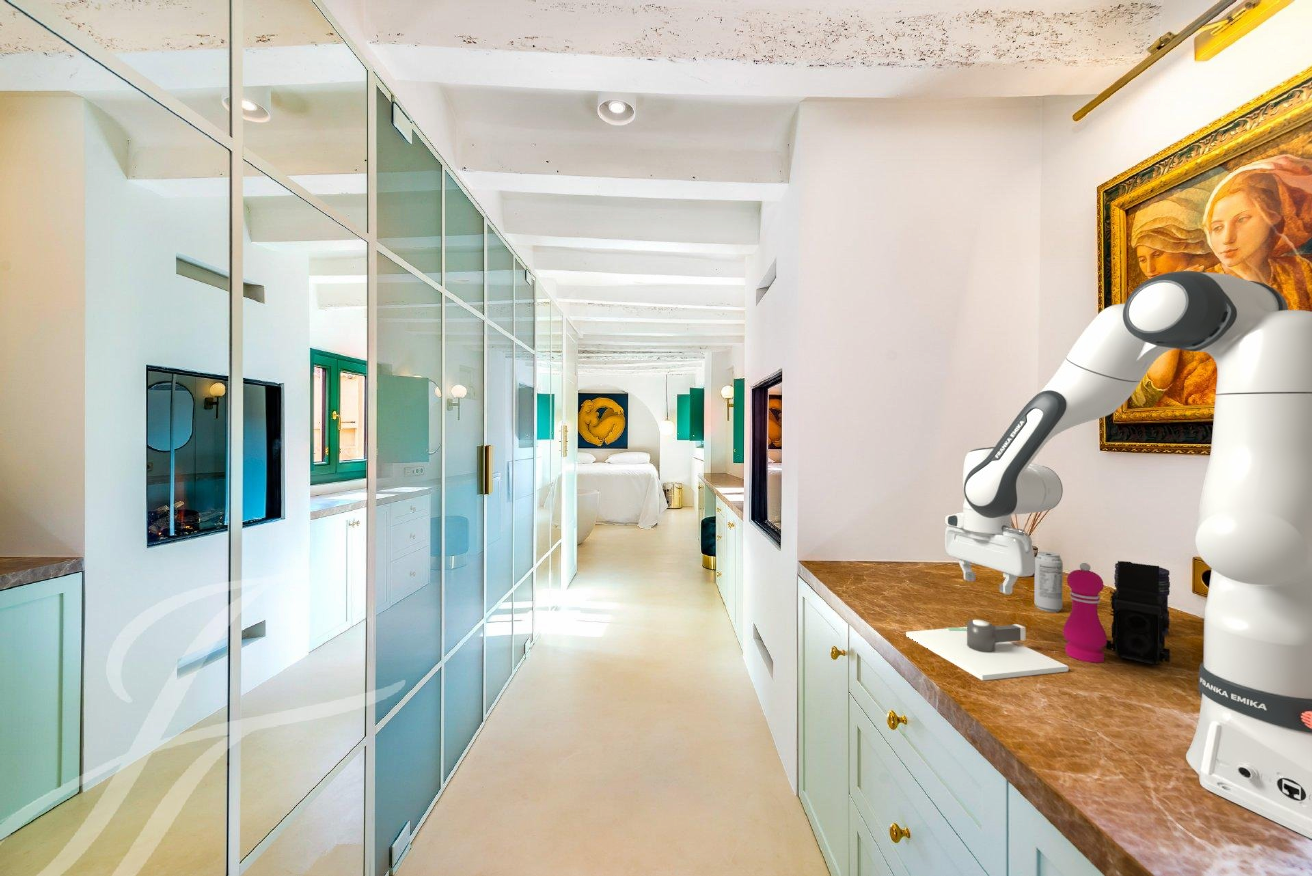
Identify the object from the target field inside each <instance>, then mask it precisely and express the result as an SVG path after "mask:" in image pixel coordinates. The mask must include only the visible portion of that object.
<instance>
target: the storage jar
mask: <svg viewBox="0 0 1312 876" xmlns="http://www.w3.org/2000/svg"><path fill="white" fill-rule="evenodd" d="M1143 564H1144V563H1143ZM1144 565H1146V564H1144ZM1114 568H1115V569H1114V574H1113V575H1114V582H1113V584H1114V587H1115V590H1116V591H1117V576H1118V562H1116V563H1115V564H1114ZM1170 588H1171V582H1170V570H1169V569H1167V568H1163V567H1161V566H1159V597H1162V600H1163V599H1164V600H1165V599H1166V600H1167V602H1165V605H1166V608H1165V607H1164V606H1165V605H1163V609H1167V614H1166V615H1165V614H1163V615H1164V616H1165V619H1168V620H1169V625H1170V620H1171V619H1170V611H1169V608H1168V607H1169V602H1168V600H1169V597H1168V596H1169V595H1170V592H1171V591H1170ZM1163 633H1164V636H1165V637H1168V636H1169V635H1170V633H1169V629H1168V628H1165V631H1163Z"/></svg>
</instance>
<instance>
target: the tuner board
mask: <svg viewBox="0 0 1312 876" xmlns="http://www.w3.org/2000/svg"><path fill="white" fill-rule="evenodd" d="M905 636H906V637H907V638H908V637H909V638H908V639H910V640H912V639H913V640H912V641H913V642H915V641H916V642H915V643H917V642H918V643H917V644H919V645H920V646H923V647H924V648H926V649H927V648H928V650H929V651H931V652H933V653H934V654H936V655H938V656H940V657H941V658H943V659H945V660H946V661H947V662H950V663H952V664H954V665H955V666H957V667H959V668H960V669H962V670H964V671H965V672H967V673H968V674H970V675H972V676H974V677H976V678H977V679H979V680H980V681H992V680H1001V679H1009V678H1010V679H1011V678H1017V677H1018V678H1020V677H1028V676H1029V677H1030V676H1037V675H1045V674H1047V675H1048V674H1056V673H1064V672H1066V673H1067V672H1069V666H1068V665H1067V664H1064V663H1062V662H1060V661H1058V660H1056V659H1053V658H1052V657H1049V656H1047V655H1045V654H1043V653H1041V652H1038V651H1036V650H1034V649H1031V648H1030V647H1027V646H1025V645H1024V643H1021V642H1020V641H1010V642H1000V643H995V651H993V652H983V651H978V650H975V649H972V648H970V647H968V646H967V626H961V627H946V628H935V629H925V630H924V629H923V630H914V631H912V630H911V631H906V632H905Z"/></svg>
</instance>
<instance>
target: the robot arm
mask: <svg viewBox="0 0 1312 876" xmlns="http://www.w3.org/2000/svg"><path fill="white" fill-rule="evenodd" d="M1176 349H1177V350H1182V351H1187V352H1199V353H1200V352H1202V353H1203V352H1205V353H1206V354H1208V355H1209V356H1211V358H1213V361H1214V362H1215V365H1216V369H1217V371H1216V372H1217V374H1216V375H1217V376H1216V377H1217V378H1216V387H1215V397H1214V399H1215V400H1214V410H1213V422H1212V423H1213V425H1212V434H1211V436H1212V437H1211V446H1210V455H1209V459H1208V463H1207V467H1206V471H1205V476H1204V481H1203V485H1202V490H1201V495H1200V500H1199V505H1198V506H1199V507H1198V513H1197V518H1196V524H1195V525H1196V527H1195V531H1194V544H1195V547H1196V550H1197V553H1198V555H1199V556H1200V558H1201V559H1202V561H1203V562H1204V563H1205V564H1206V565H1207V566H1209V568H1211V570H1210V571H1211V572H1210V578H1209V585H1208V592H1207V596H1206V597H1207V598H1206V600H1205V601H1206V602H1205V605H1204V610H1203V661H1202V662H1200V664H1199V666H1198V668H1199V669H1198V687H1197V688H1198V693H1199V697H1200V700H1201V701H1200V702H1201V703H1200V709H1199V716H1198V720H1197V726H1196V729H1195V733H1194V736H1193V739H1192V742H1191V744H1190V746H1189V748H1188V750H1187V752H1185V753H1186V754H1185V758H1186V761H1187V763H1188V765H1189V766H1190V767H1191V768H1192V769H1193V770H1194V771H1195V773H1197V775H1198V779H1199V784H1200V785H1201V787H1202V788H1204V789H1205V790H1207V791H1209V792H1211V793H1213V794H1215V795H1218V796H1219V797H1222V798H1224V799H1226V800H1228V801H1230V802H1232V803H1235V804H1236V805H1239V806H1240V807H1243V808H1245V809H1247V810H1249V811H1251V812H1254V813H1255V814H1258V815H1260V816H1262V817H1264V818H1267V819H1268V820H1270V821H1272V822H1275V823H1277V824H1279V825H1281V826H1284V827H1285V828H1287V829H1290V830H1291V831H1294V832H1297V833H1298V834H1300V835H1301V836H1305V837H1306V838H1309V839H1311V840H1312V311H1309V310H1304V309H1303V310H1301V309H1289V307H1288V303H1287V300H1286V298H1285V297H1284V296H1283V295H1282V294H1281V293H1280V292H1279V291H1278V290H1276V289H1275V288H1274V287H1272V286H1270V285H1268V284H1266V283H1263V282H1260V281H1256V280H1248V279H1244V278H1240V277H1237V276H1234V275H1232V274H1228V273H1227V274H1225V273H1219V272H1201V271H1195V270H1180V271H1178V270H1177V271H1172V272H1167V273H1162V274H1159V275H1156V276H1154V277H1151V278H1149V279H1147V280H1145V281H1144V282H1142V283H1141V284H1140V285H1138V286H1137V287H1136V288H1135V289H1133V291H1132V292H1131V293H1130V295H1128V297H1127V299H1126V301H1125V303H1118V304H1113V305H1110V306H1108V307H1106V308H1104V309H1102V310H1101V311H1100V312H1099V313H1098V314H1097V315H1096V316H1095V317H1094V319H1093V320H1092V321H1091V322H1090V323H1089V324H1088V325H1087V327H1086V328H1085V329H1084V330H1083V332H1082V333H1081V335H1079V337H1078V338H1077V340H1076V341H1075V342H1074V343H1073V345H1072V347H1071V348H1070V350H1069V352H1068V353H1067V355H1066V357H1065V358H1064V360H1063V362H1062V363H1061V365H1060V366H1059V368H1058V369H1057V370H1056V372H1055V373H1054V375H1053V376H1052V377H1051V379H1050V380H1049V381H1048V382H1047V384H1045V386H1044V387H1043V388H1042V389H1041V390H1040V391H1039V392H1038V393H1037V394H1035V395H1034V396H1033V398H1031V399H1030V401H1028V403H1026V404H1025V406H1024V407H1023V408H1022V410H1021V411H1020V412H1019V413H1018V414H1017V416H1016V417H1015V418H1014V420H1013V421H1012V423H1011V424H1010V425H1009V427H1008V428H1007V430H1006V431H1005V432H1004V434H1003V435H1002V436H1001V438H1000V439H999V440H998V442H997V443H996V445H995V446H990V447H981V448H980V447H979V448H974V449H972V450H970V451H968V452H967V453H966V455H965V458H964V461H963V467H962V491H963V494H964V500H963V504H962V511H961V512H958V513H953V514H949V515H945V518H944V523H945V525H946V528H945V532H944V550H945V552H946V554H947V555H948V556H949V557H951V558H955V559H958V563H959V566H960V568H961V570H962V572H963V579H964V580H965V581H968V582H969V583H970V582H975V581H976V572H973V569H972V567H971V565H972V564H976V565H978V566H983V567H984V568H988V569H992V570H996V571H999V572H1002V576H1003V578H1005V579H1004V580H1003V583H999V584H998V587H999V589H998V591H999V592H1000V593H1002V594H1004V595H1011V594H1012V593H1013V586H1014V585H1015V584H1016V581H1017V580H1018V577H1021V578H1022V577H1025V578H1026V577H1031V576H1032V577H1033V575H1035V553H1034V548H1033V545H1032V544H1033V543H1032V538H1031V536H1030V534H1028V533H1027V532H1026V531H1025V530H1024V529H1021V528H1016V527H1012V515H1025V514H1026V515H1027V514H1031V513H1032V514H1034V513H1035V514H1036V513H1043V512H1046V511H1051V510H1053V509H1054V508H1055V507H1057V506H1058V505H1059V503H1060V501H1061V500H1062V497H1063V493H1064V491H1063V484H1062V481H1061V479H1060V477H1059V475H1058V474H1057V473H1056V472H1055V471H1054V470H1053V469H1051V468H1049V467H1047V466H1044V465H1039V464H1036V463H1033V461H1034V460H1035V459H1036V457H1037V456H1038V454H1039V453H1040V452H1041V451H1042V449H1043V448H1044V446H1046V444H1047V443H1048V442H1049V441H1050V440H1051V439H1053V438H1054V437H1055V436H1057V435H1058V434H1061V433H1062V432H1064V431H1066V430H1068V429H1070V428H1074V427H1076V426H1079V425H1081V424H1085V423H1088V422H1091V421H1094V420H1099V419H1102V418H1105V417H1108V416H1110V415H1111V414H1113V413H1114V412H1116V411H1117V410H1118V409H1119V408H1120V407H1122V406H1123V405H1124V404H1125V403H1126V402H1127V401H1128V400H1129V398H1130V397H1131V396H1132V394H1134V392H1135V391H1136V389H1137V387H1138V386H1139V385H1140V383H1141V382H1142V380H1143V379H1144V377H1145V375H1146V374H1147V373H1148V371H1149V369H1150V368H1151V367H1152V365H1153V364H1154V362H1155V361H1156V360H1158V359H1159V357H1161V356H1162V355H1163V354H1165V353H1167V352H1169V351H1172V350H1176Z"/></svg>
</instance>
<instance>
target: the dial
mask: <svg viewBox="0 0 1312 876" xmlns="http://www.w3.org/2000/svg"><path fill="white" fill-rule="evenodd" d="M966 627H967V646H968V647H970V648H972V649H975V650H978V651H983V652H993V651H995V643H1000V642H1010V641H1016V642H1025V641H1026V627H1025V626H1023V625H1020V624H1019V623H1018V624H1017V623H1014V624H1008V625H996V626H995V625H994V624H992V623H990V622H988V621H987V620H983V619H973V620H968V621H967V622H966Z"/></svg>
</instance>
